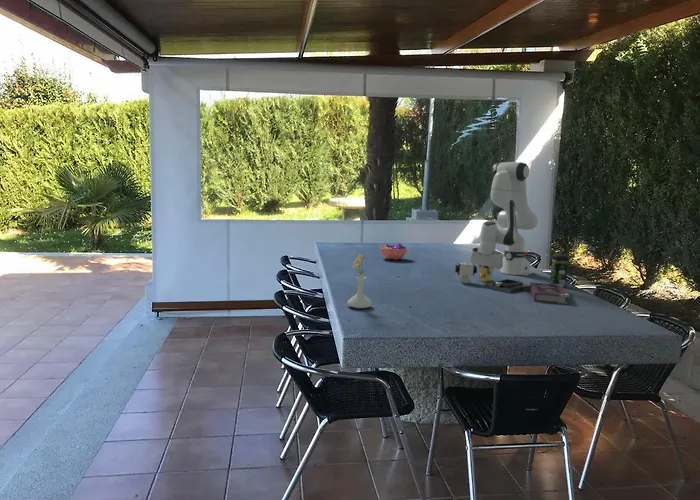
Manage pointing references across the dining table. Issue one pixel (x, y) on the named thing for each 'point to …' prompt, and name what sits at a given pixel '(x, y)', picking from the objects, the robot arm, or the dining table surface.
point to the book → (548, 292)
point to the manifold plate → (507, 285)
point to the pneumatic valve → (465, 271)
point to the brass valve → (484, 274)
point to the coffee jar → (559, 269)
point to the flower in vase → (359, 287)
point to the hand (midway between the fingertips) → (485, 273)
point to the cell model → (393, 251)
